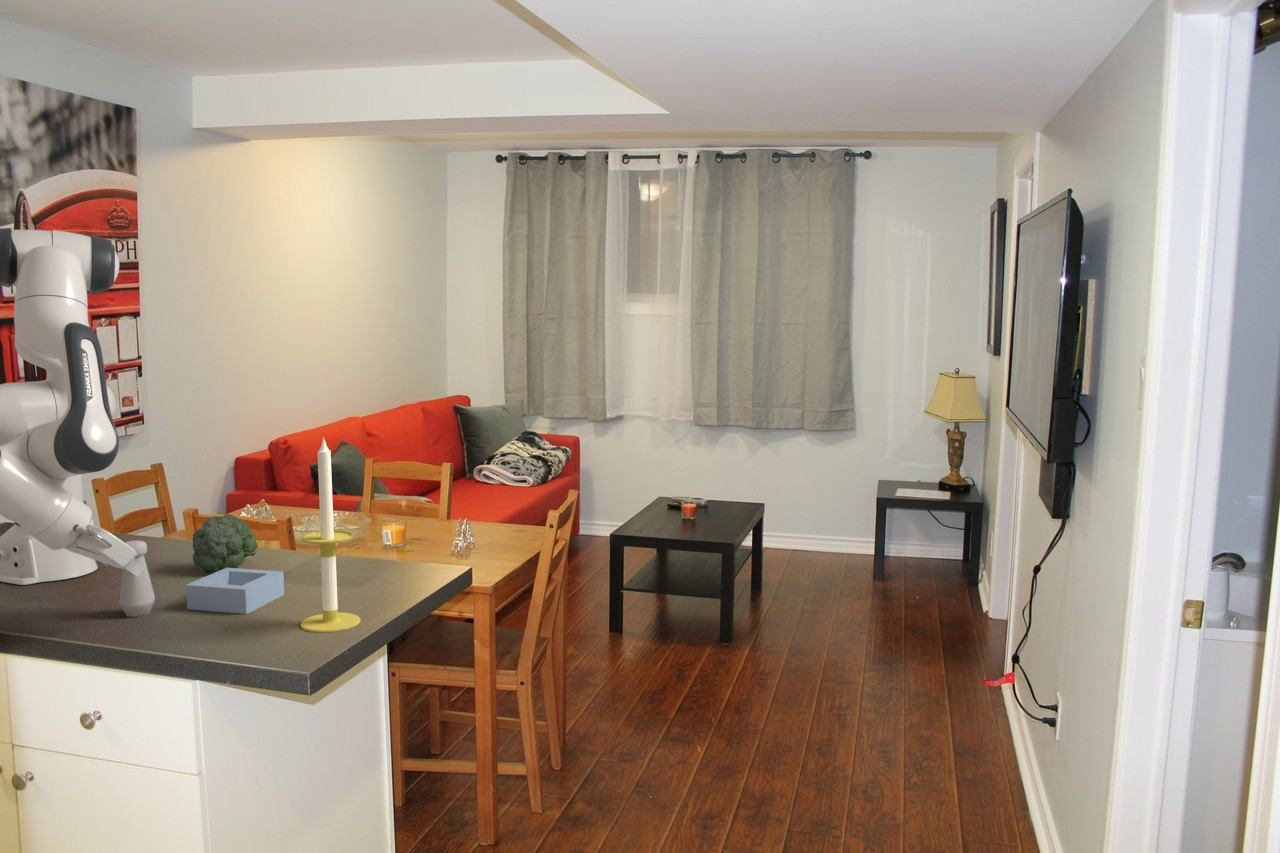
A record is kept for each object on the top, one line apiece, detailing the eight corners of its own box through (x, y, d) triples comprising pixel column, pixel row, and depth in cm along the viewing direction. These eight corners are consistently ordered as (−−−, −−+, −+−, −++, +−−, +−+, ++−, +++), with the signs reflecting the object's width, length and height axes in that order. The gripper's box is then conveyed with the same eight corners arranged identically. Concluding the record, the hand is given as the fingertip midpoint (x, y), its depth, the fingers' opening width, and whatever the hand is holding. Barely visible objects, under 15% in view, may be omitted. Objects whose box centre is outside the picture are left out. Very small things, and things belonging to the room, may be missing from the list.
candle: (287, 627, 175) (279, 438, 171) (327, 611, 184) (320, 431, 180) (334, 635, 171) (326, 442, 167) (372, 618, 180) (366, 434, 176)
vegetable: (282, 550, 218) (252, 535, 204) (237, 595, 216) (203, 583, 202) (246, 513, 222) (213, 495, 207) (201, 557, 219) (165, 542, 205)
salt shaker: (120, 610, 184) (116, 539, 183) (156, 606, 186) (151, 536, 185) (118, 620, 179) (113, 547, 177) (155, 616, 181) (150, 544, 179)
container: (187, 609, 185) (185, 585, 184) (228, 590, 197) (226, 567, 196) (246, 614, 182) (245, 589, 182) (284, 594, 194) (283, 571, 193)
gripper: (104, 515, 166) (167, 562, 175) (49, 500, 179) (110, 544, 188) (78, 547, 164) (143, 593, 172) (24, 529, 176) (87, 573, 185)
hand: (125, 567), depth 180 cm, fingers open, 8 cm apart
